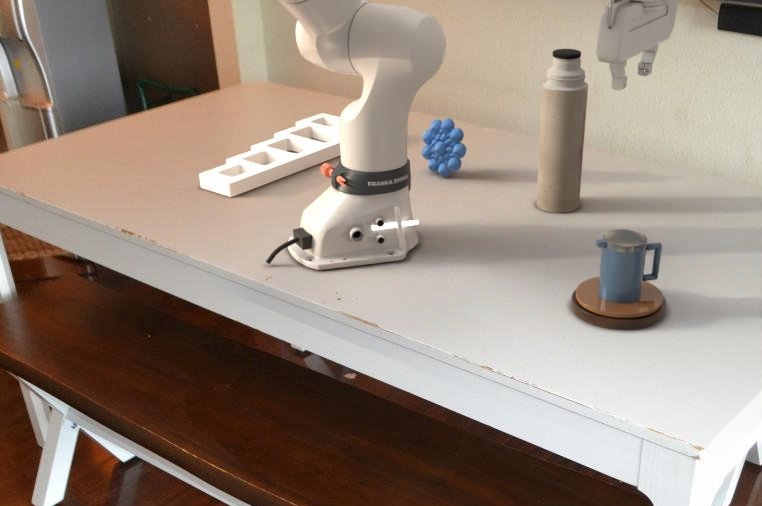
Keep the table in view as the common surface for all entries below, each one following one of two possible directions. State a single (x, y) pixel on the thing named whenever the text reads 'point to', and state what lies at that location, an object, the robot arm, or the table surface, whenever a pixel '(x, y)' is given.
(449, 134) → the grapes
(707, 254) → the table surface
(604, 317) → the turntable base
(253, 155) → the holder
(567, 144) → the thermos bottle
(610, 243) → the blue mug on coaster
